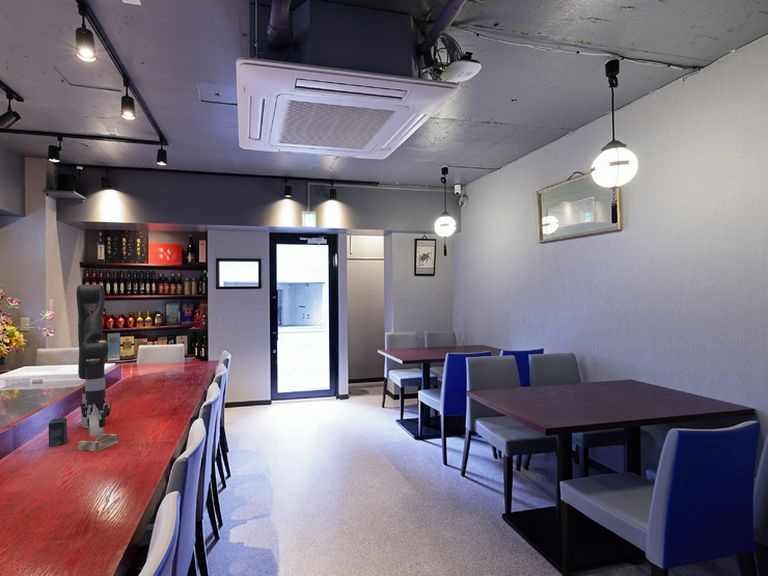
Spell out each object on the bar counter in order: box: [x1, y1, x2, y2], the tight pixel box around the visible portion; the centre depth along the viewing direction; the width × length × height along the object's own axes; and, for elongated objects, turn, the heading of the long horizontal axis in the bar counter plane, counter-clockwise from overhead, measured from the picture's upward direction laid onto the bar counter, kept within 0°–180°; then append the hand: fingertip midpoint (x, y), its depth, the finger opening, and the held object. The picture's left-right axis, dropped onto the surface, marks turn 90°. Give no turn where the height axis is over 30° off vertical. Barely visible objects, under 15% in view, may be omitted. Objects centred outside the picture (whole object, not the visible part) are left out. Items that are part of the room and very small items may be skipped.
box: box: [48, 417, 68, 448], centre depth 201 cm, size 8×6×11 cm
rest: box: [77, 433, 119, 452], centre depth 196 cm, size 10×11×4 cm
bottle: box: [88, 403, 104, 437], centre depth 196 cm, size 5×5×14 cm
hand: (96, 426), depth 196 cm, fingers closed on bottle, 5 cm apart
